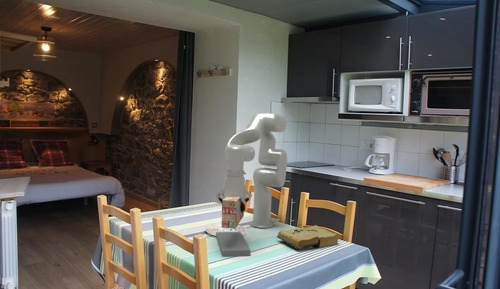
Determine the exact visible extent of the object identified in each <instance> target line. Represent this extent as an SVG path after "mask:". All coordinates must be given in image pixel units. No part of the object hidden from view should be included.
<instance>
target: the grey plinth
mask: <svg viewBox="0 0 500 289" xmlns="http://www.w3.org/2000/svg"><path fill="white" fill-rule="evenodd" d="M215 239H216V241H217V245H218V248H219V251H220V253H221V256H222V258H223V257H225V258H226V257H250V256H251V252H252V250H251V248H250V247H249V245H248V243H247V241H246V239H245V237H244V235H243V233H242V232H241V231H216V232H215Z"/></svg>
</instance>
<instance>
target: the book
mask: <svg viewBox="0 0 500 289" xmlns="http://www.w3.org/2000/svg"><path fill="white" fill-rule="evenodd" d="M276 238H278V239H279V240H281V241H283V242H284V243H285V244H286V245H289V246H291V247H293V248H294V249H296V250H298V251H301V250H305V249H306V250H308V249H314V248H315V249H323V248H327V247H334V246H338V245H339V243H338V242H339V235H338V234H337V232H336V233H333V232H331V231H328V230H327V229H324V228H322V227H320V226H318V225H317V224H315V225H313V226H310V227H292V228H291V229H281V230H279V231H278V233H277V235H276Z"/></svg>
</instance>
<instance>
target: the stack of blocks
mask: <svg viewBox="0 0 500 289" xmlns="http://www.w3.org/2000/svg"><path fill="white" fill-rule="evenodd" d="M223 198H224V197H223ZM223 198H222V200H223V201H222V203H221V228H224V229H233V230H235V229H237V227H238V226H239V224H240V223H241V221H242V219H243V218H244V217H245V214H244V213H245V212H244V213H242V212H241V203H242V200H241V199H240V197H227V196H226V197H225V198H224V199H223Z"/></svg>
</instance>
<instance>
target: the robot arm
mask: <svg viewBox="0 0 500 289" xmlns="http://www.w3.org/2000/svg"><path fill="white" fill-rule="evenodd" d="M287 125H288V124H287V120H286V117H284V115H280V114H278V113H275V112H256V113H254V114H253V115H252V117H251V119H250V120H249V123H248V124H247V126H246V128H245V129H244V130H241V131H239V132H238V133H236V134H235V135H232V137H231V138H230V139H229V140H228V142H227V144H226V146H225V149H224V157H225V158H226V173H225V174H226V175H224V178H223V184H222V189H221V190H220V191H219V192H217V193H216V194H215V196H216V198H217V199H218V201H219V202H220V204H222V201H223V199H224V198H225V197H226V196H227V197H240V199H241V200H242V203H241V212H242V213H245V211H246V204H247V203H248V202H249V201H250V200H251V199H252V196H253V213H252V220H251V221H250V223H249V225H250V227H252V228H257V229H269V228H272V227H273V226H274V223H279V222H280V219H279V218H276V217H271V216H272V215H271V213H272V191H271V190H270V189H271V188H269V187H273V188H283V187H284V185H285V184H286V176H287V169H288V168H287V167H288V154H287V151H286V150H284V149H279V148H278V149H277V148H276V142H277V140H276V137H275V135H274V134H273V133H282V132H284V131H285V130H286V129H287ZM259 140H260V142H259V148H258V149H259V150H258V158H257V159H258V160H257V161H258V163H259V165H261V166H266V167H258V168H255V169H254V171H253V175H252V180H253V186H254V187H253V195H252V193H250V192H249V190H246V180H245V175H247V170H244V167H245V166H244V164H245V163H244V162H251V161H253V160H254V159H255V157H256V151H255V148H254V147H253V146H252V145H249V144H252V143H255V142H257V141H259ZM269 167H276V168H269ZM221 195H222V197H223V198H222V197H221ZM246 195H247V197H246Z"/></svg>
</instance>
